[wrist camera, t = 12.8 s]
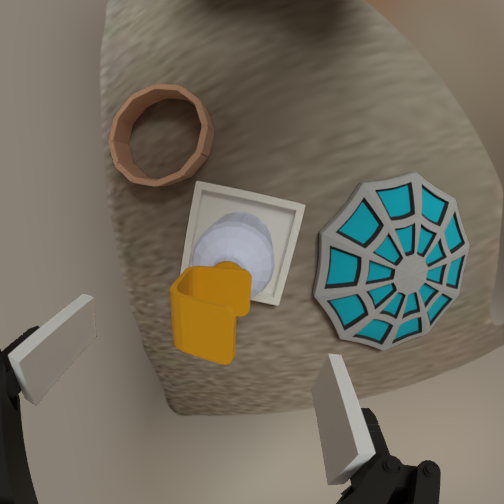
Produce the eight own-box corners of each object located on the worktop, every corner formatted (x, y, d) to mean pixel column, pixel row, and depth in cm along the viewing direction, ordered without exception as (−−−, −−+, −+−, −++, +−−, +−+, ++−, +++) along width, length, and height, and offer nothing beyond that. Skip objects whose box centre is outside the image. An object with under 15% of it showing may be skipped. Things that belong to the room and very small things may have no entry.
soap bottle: (269, 275, 40) (276, 397, 16) (207, 270, 40) (145, 381, 16) (274, 213, 38) (294, 270, 14) (209, 209, 38) (128, 258, 14)
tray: (200, 180, 38) (196, 180, 35) (302, 203, 38) (305, 204, 36) (183, 277, 42) (179, 283, 39) (277, 298, 42) (278, 305, 40)
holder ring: (137, 92, 34) (123, 83, 30) (223, 99, 35) (217, 88, 30) (118, 177, 38) (101, 177, 33) (201, 191, 38) (193, 193, 33)
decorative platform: (322, 159, 37) (331, 156, 32) (469, 186, 36) (486, 188, 31) (303, 346, 45) (307, 364, 40) (437, 338, 44) (449, 351, 39)
